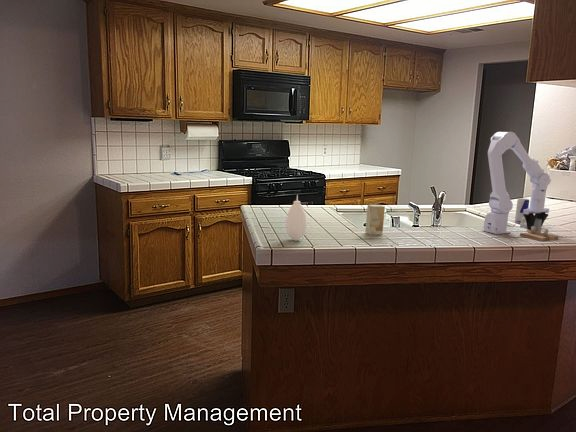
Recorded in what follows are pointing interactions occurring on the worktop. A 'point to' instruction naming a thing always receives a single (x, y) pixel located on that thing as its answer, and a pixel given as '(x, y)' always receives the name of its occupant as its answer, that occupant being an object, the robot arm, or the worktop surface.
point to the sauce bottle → (296, 221)
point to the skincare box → (375, 219)
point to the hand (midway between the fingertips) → (534, 229)
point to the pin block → (538, 235)
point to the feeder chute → (523, 222)
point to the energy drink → (521, 209)
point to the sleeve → (537, 225)
